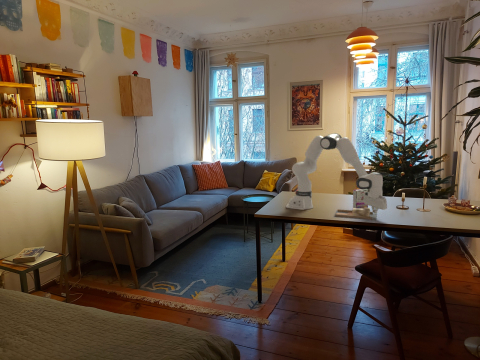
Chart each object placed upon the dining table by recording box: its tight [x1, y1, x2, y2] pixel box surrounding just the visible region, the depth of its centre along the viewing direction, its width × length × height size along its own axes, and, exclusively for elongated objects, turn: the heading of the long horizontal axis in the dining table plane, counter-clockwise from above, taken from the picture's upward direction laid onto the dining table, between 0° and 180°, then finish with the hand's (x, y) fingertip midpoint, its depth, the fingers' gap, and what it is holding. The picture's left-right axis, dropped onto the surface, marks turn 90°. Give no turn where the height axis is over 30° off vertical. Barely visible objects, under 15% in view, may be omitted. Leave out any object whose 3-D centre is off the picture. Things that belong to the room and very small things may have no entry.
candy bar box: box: [352, 188, 369, 209], centre depth 269 cm, size 11×5×16 cm, turn 105°
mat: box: [332, 208, 378, 221], centre depth 253 cm, size 30×20×2 cm, turn 66°
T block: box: [352, 207, 371, 217], centre depth 251 cm, size 12×12×5 cm
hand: (374, 212), depth 247 cm, fingers closed
